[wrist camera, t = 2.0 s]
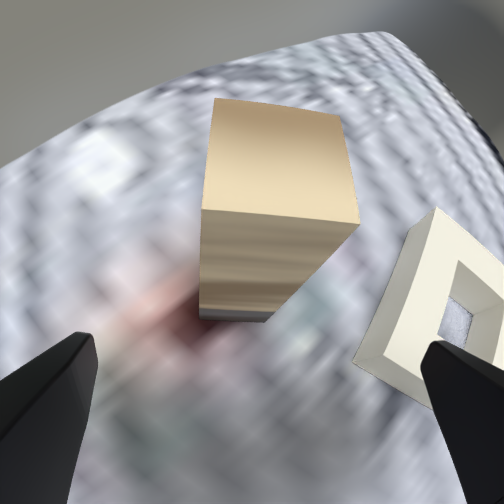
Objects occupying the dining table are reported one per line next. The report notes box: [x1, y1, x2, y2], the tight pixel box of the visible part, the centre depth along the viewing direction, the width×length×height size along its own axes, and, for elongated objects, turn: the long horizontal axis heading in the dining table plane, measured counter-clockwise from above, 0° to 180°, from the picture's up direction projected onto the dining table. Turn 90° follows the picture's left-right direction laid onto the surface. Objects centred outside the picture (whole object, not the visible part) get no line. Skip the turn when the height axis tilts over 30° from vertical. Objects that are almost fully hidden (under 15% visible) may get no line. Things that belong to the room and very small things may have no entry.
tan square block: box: [199, 98, 360, 323], centre depth 14 cm, size 4×4×13 cm
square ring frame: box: [352, 206, 504, 410], centre depth 20 cm, size 12×12×4 cm
